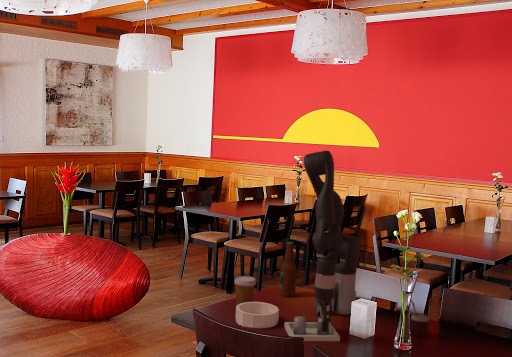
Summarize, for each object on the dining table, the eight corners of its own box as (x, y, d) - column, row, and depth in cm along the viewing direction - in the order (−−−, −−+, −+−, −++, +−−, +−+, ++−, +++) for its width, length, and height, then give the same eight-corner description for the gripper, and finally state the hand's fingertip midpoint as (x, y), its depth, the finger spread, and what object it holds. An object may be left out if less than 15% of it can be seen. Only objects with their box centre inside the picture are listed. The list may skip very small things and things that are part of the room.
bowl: (274, 315, 237) (274, 302, 236) (280, 329, 220) (281, 315, 220) (234, 314, 235) (234, 301, 234) (237, 328, 218) (238, 314, 218)
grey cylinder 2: (327, 331, 219) (328, 316, 219) (330, 336, 215) (331, 320, 214) (315, 331, 219) (316, 316, 218) (318, 336, 214) (319, 320, 214)
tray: (329, 328, 225) (329, 322, 224) (339, 342, 210) (340, 336, 210) (284, 327, 222) (284, 322, 222) (291, 342, 208) (291, 336, 207)
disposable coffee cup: (254, 310, 242) (256, 282, 241) (232, 308, 242) (233, 280, 241) (255, 303, 252) (256, 276, 251) (233, 302, 252) (235, 275, 251)
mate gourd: (430, 335, 223) (433, 297, 221) (423, 340, 216) (426, 302, 215) (411, 330, 227) (414, 293, 226) (404, 335, 220) (407, 297, 219)
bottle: (287, 292, 272) (290, 240, 269) (298, 296, 266) (301, 243, 264) (276, 294, 267) (279, 241, 265) (286, 298, 261) (290, 244, 259)
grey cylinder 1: (304, 331, 218) (305, 316, 218) (306, 335, 214) (307, 320, 213) (292, 331, 217) (293, 316, 217) (294, 335, 213) (295, 320, 212)
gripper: (339, 291, 209) (336, 334, 210) (330, 280, 223) (327, 321, 224) (319, 290, 208) (316, 334, 209) (311, 280, 222) (308, 321, 223)
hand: (322, 327), depth 216 cm, fingers open, 8 cm apart
